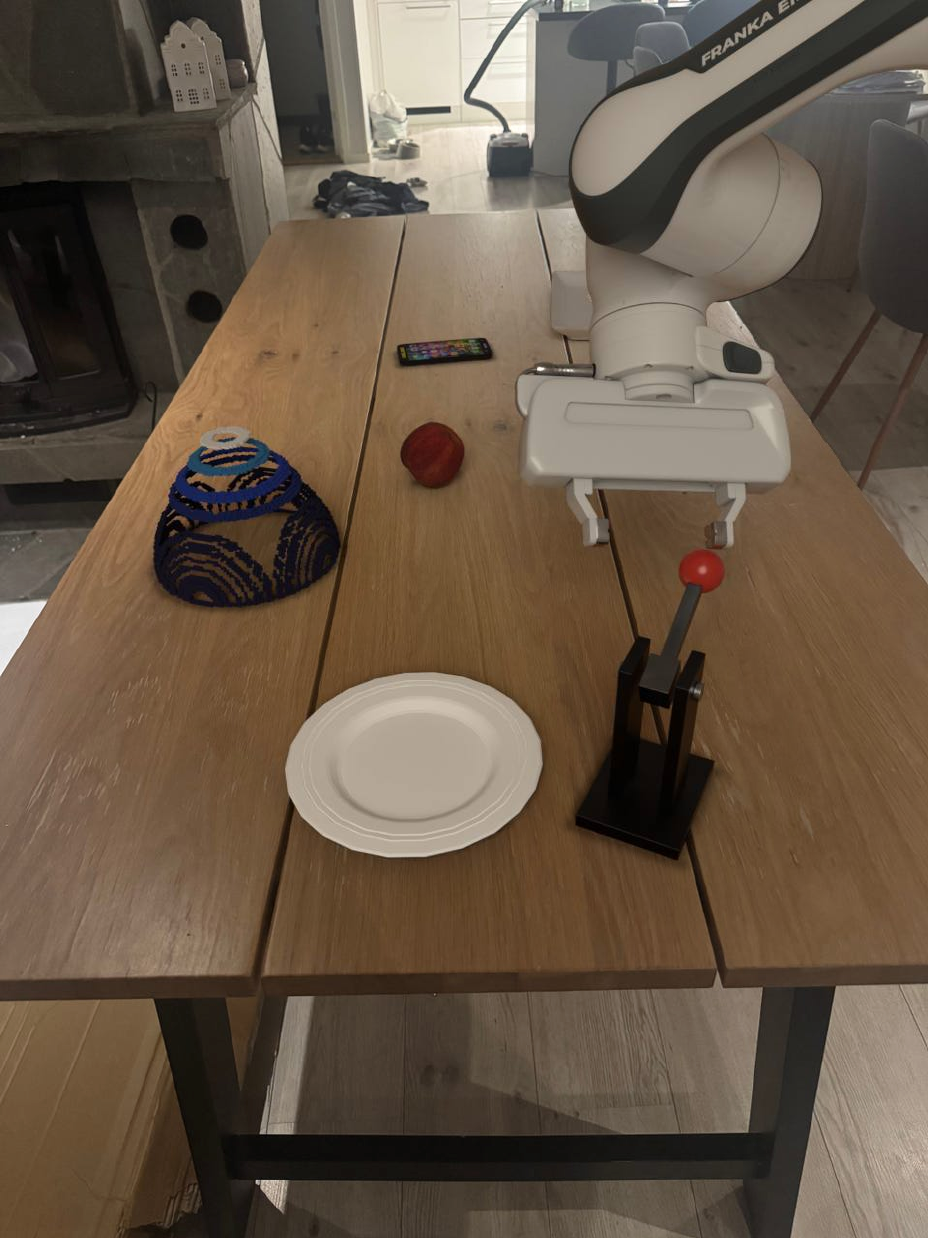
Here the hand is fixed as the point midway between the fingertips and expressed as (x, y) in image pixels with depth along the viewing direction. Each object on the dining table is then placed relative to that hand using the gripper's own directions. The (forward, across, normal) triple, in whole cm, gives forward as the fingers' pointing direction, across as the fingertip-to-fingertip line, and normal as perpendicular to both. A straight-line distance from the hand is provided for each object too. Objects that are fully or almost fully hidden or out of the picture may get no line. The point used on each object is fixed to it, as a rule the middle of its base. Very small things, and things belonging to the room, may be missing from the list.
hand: (658, 546), depth 68 cm
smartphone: (-50, -4, +78) cm, 93 cm away
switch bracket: (+18, +1, +8) cm, 20 cm away
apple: (-19, -10, +48) cm, 53 cm away
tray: (-62, +24, +84) cm, 108 cm away
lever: (+6, +2, +2) cm, 7 cm away
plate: (+16, -16, +14) cm, 27 cm away
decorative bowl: (-8, -32, +41) cm, 53 cm away
